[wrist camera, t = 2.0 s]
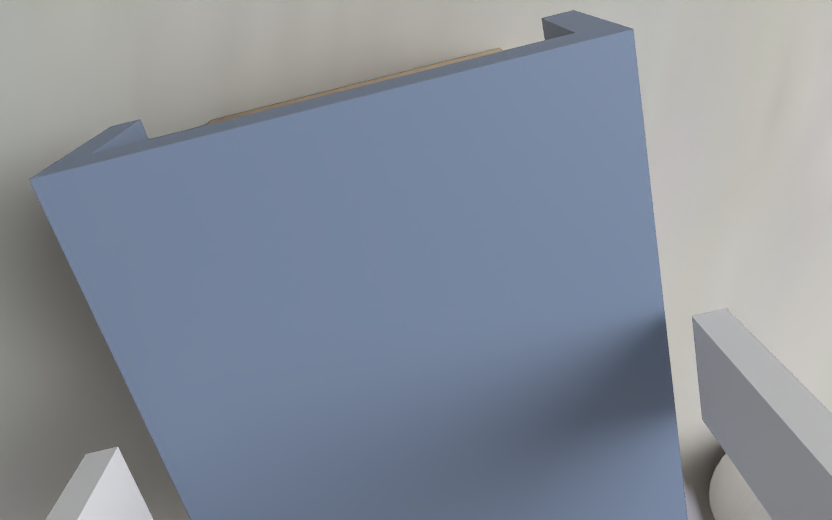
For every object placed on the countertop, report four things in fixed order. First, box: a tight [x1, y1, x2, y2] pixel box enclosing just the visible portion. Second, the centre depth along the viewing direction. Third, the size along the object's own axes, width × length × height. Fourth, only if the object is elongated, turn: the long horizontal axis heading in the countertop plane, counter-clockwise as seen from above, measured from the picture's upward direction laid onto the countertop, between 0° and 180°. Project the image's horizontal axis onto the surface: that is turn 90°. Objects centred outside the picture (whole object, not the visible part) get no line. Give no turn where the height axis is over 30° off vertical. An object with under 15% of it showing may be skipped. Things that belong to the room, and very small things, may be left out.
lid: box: [29, 10, 687, 520], centre depth 19 cm, size 14×12×5 cm
